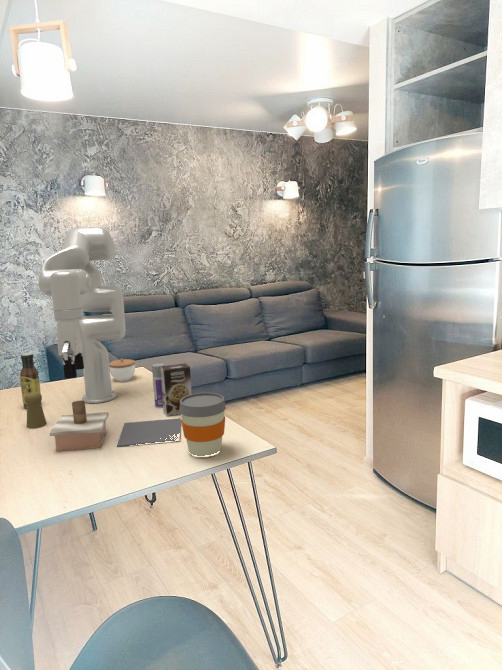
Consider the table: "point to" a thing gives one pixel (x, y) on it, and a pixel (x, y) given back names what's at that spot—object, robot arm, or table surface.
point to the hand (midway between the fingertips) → (74, 373)
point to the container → (157, 384)
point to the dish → (80, 440)
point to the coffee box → (175, 386)
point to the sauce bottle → (28, 376)
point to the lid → (79, 421)
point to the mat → (149, 432)
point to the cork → (34, 410)
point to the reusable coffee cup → (203, 422)
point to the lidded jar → (122, 369)
